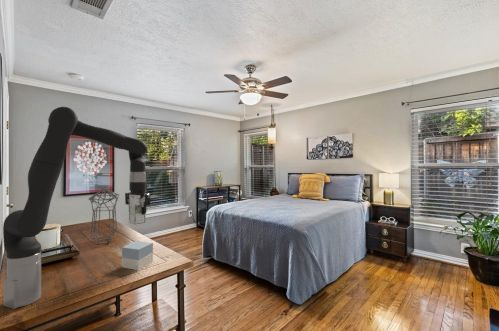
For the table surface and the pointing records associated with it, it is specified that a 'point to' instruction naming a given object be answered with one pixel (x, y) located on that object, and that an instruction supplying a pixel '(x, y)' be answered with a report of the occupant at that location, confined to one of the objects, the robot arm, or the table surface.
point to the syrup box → (135, 210)
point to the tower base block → (137, 262)
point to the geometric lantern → (103, 210)
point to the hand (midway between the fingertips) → (137, 213)
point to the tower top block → (137, 250)
